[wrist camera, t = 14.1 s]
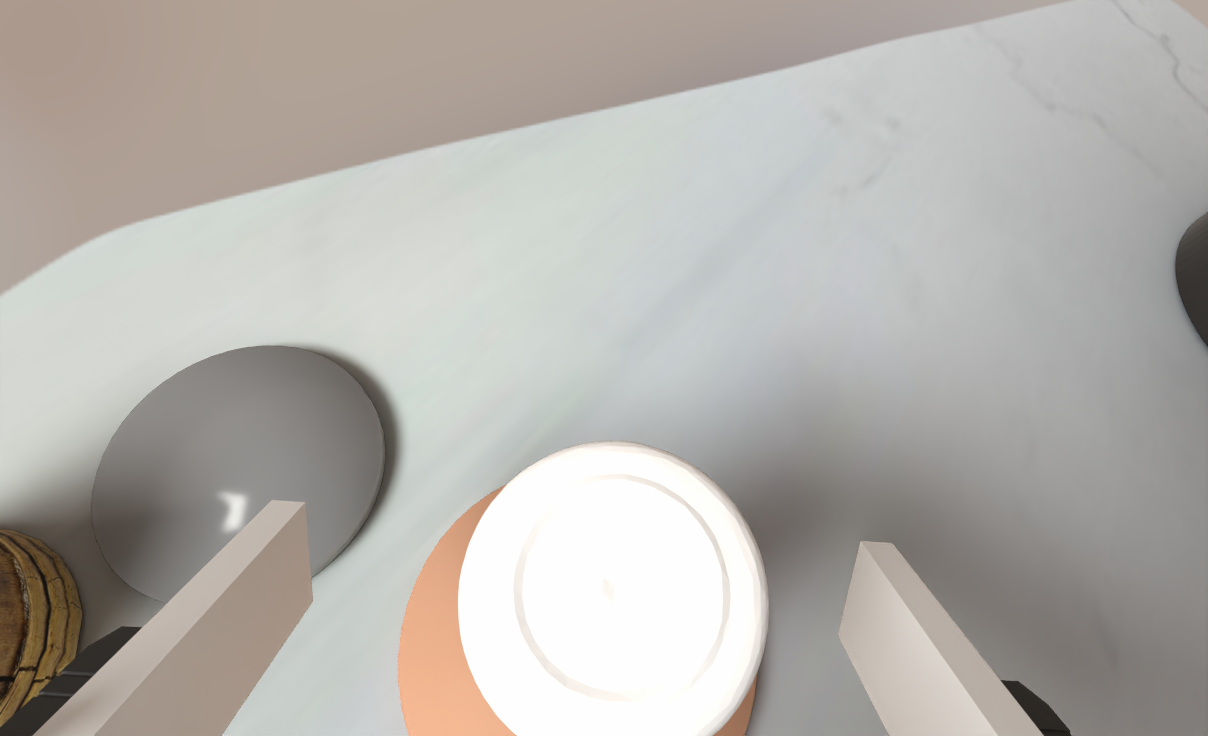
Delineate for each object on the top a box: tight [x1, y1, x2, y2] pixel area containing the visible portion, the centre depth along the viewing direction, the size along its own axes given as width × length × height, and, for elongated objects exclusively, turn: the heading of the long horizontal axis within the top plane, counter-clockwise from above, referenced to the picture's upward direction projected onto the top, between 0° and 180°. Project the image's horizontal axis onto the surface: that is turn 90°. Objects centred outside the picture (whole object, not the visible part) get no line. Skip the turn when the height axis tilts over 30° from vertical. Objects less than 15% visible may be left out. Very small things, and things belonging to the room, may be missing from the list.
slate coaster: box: [91, 346, 385, 603], centre depth 23 cm, size 10×10×1 cm
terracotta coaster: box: [398, 484, 757, 736], centre depth 21 cm, size 12×12×1 cm
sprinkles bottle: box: [458, 441, 769, 736], centre depth 14 cm, size 5×5×13 cm
